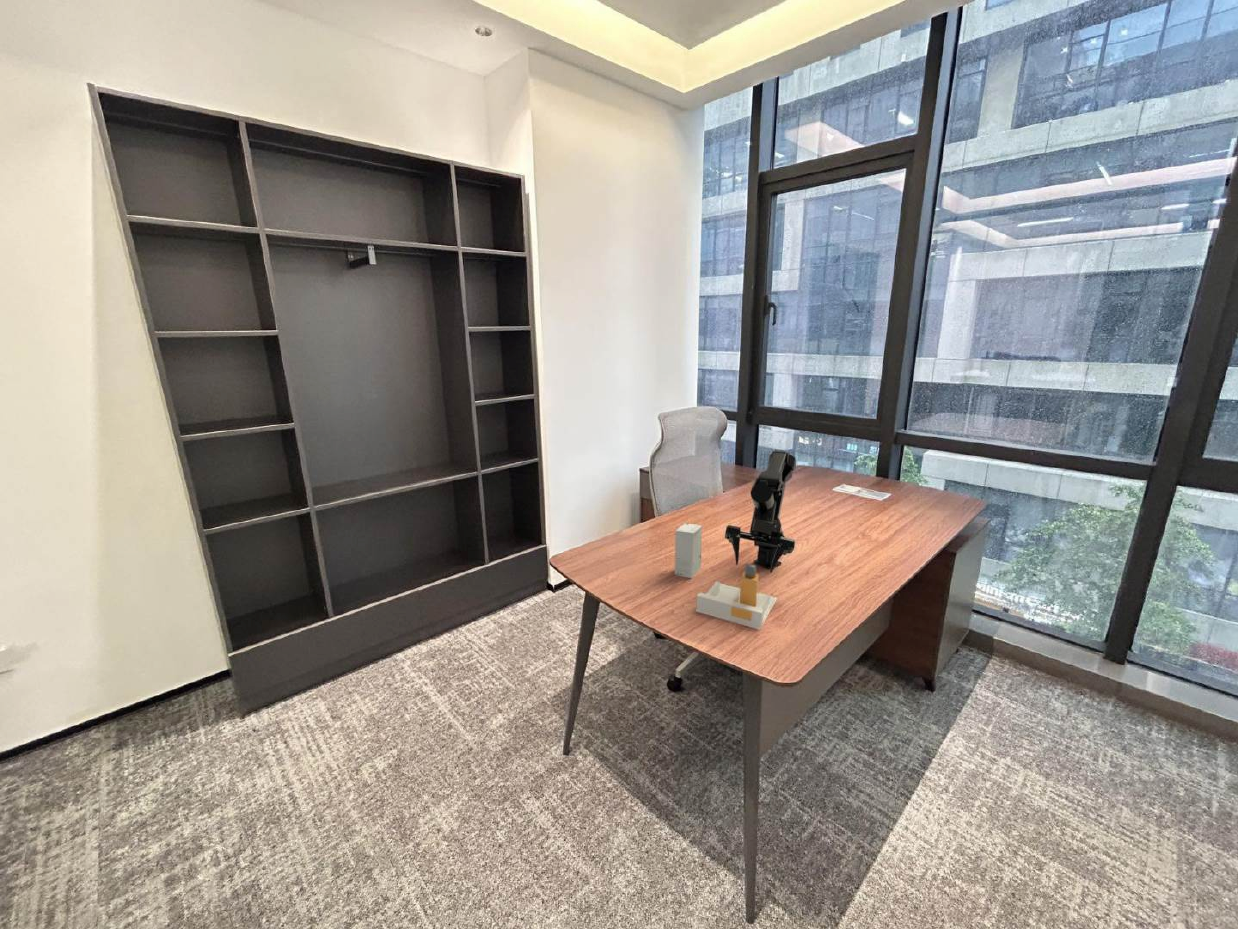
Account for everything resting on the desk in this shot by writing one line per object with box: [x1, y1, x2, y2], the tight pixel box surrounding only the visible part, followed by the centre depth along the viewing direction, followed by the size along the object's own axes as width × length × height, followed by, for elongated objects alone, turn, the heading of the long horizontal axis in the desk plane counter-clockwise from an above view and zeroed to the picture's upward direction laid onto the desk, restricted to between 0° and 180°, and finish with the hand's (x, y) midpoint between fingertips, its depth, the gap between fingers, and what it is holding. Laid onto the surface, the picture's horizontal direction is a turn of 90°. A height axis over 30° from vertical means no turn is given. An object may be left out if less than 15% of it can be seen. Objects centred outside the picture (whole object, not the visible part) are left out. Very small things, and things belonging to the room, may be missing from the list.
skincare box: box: [674, 522, 703, 579], centre depth 153 cm, size 8×6×15 cm
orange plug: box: [740, 563, 760, 607], centre depth 130 cm, size 4×4×13 cm
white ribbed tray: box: [695, 581, 778, 630], centre depth 135 cm, size 18×17×5 cm
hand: (753, 568), depth 138 cm, fingers open, 9 cm apart
